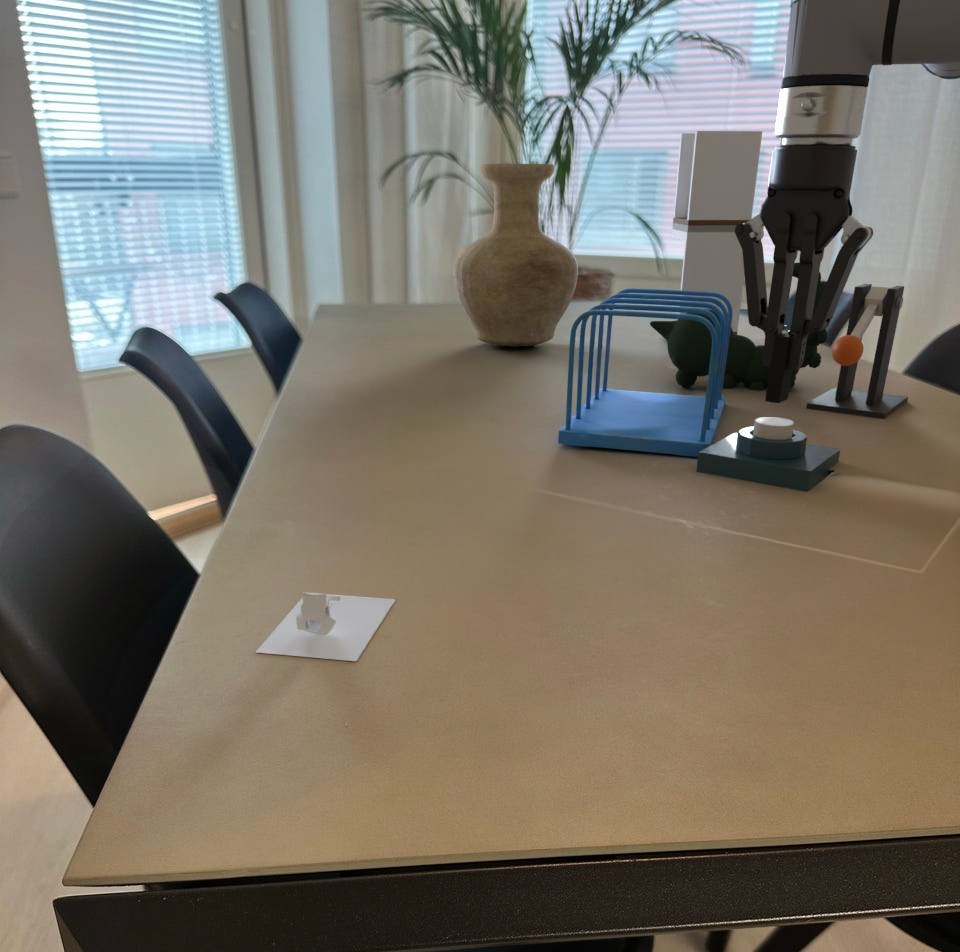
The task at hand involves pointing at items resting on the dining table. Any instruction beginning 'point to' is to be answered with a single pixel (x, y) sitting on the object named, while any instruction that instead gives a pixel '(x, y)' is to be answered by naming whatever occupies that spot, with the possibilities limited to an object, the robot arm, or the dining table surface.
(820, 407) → the orange ball swing frame
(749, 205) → the display case
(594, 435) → the file sorter
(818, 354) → the toy figurine
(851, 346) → the switch lever
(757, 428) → the white button cap
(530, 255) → the vase
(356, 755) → the dining table surface
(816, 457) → the button base
